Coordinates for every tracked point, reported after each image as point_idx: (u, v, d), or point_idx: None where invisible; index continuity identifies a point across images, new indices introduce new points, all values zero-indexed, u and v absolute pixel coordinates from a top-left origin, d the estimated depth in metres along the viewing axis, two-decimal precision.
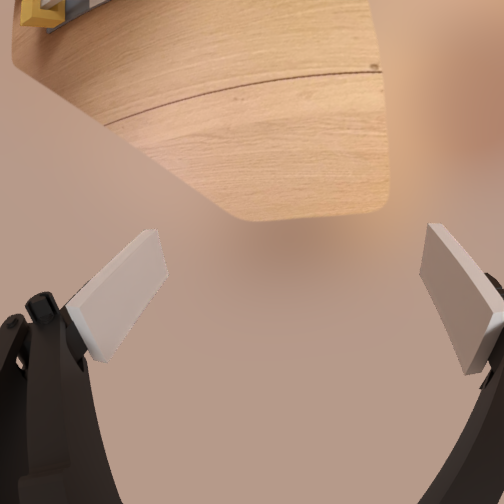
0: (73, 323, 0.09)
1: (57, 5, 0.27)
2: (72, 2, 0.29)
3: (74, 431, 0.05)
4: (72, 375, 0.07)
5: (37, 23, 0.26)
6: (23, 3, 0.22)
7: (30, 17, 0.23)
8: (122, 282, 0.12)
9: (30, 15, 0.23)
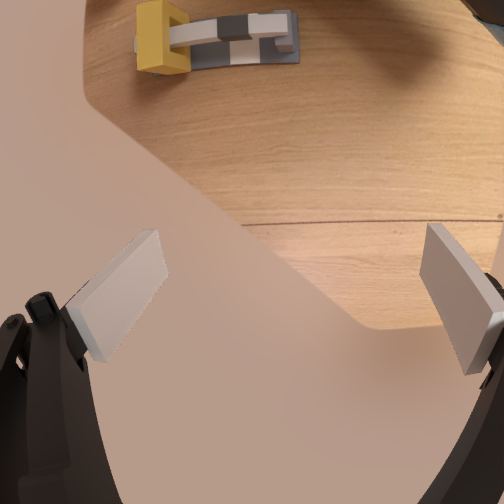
0: (73, 323, 0.09)
1: None
2: (198, 44, 0.31)
3: (74, 432, 0.05)
4: (72, 375, 0.07)
5: (159, 70, 0.27)
6: (141, 33, 0.23)
7: (160, 64, 0.24)
8: (122, 282, 0.12)
9: (159, 60, 0.24)
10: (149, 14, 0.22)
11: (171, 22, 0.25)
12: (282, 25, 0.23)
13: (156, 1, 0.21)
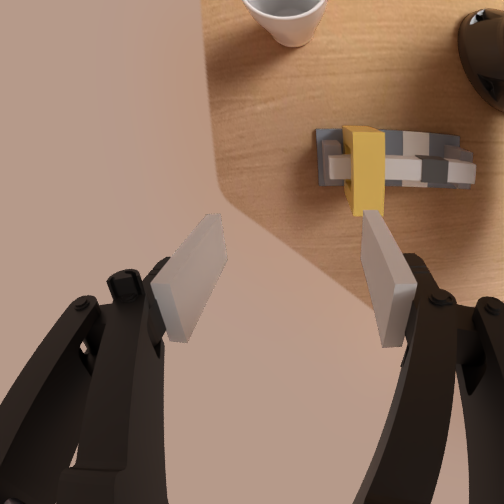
0: (156, 302, 0.10)
1: None
2: None
3: (138, 428, 0.06)
4: (147, 363, 0.08)
5: None
6: (359, 172, 0.25)
7: None
8: (199, 262, 0.12)
9: (379, 210, 0.27)
10: (370, 150, 0.24)
11: None
12: (472, 176, 0.25)
13: (378, 135, 0.23)
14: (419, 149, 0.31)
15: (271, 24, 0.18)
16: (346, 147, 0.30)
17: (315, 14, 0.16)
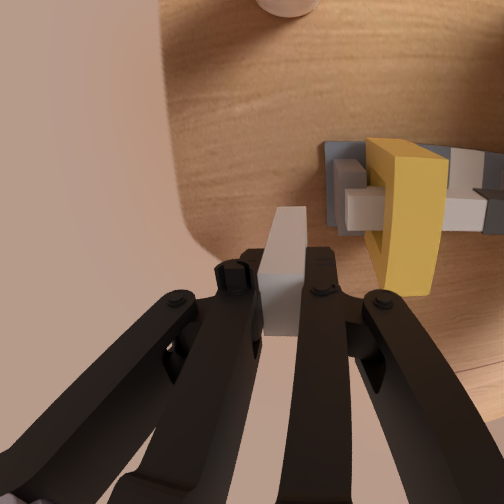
0: (260, 294, 0.10)
1: None
2: None
3: (219, 440, 0.05)
4: (244, 366, 0.08)
5: None
6: (401, 229, 0.14)
7: (423, 293, 0.16)
8: None
9: (424, 287, 0.15)
10: (422, 191, 0.13)
11: None
12: None
13: (437, 164, 0.12)
14: (470, 175, 0.20)
15: None
16: (372, 173, 0.19)
17: None
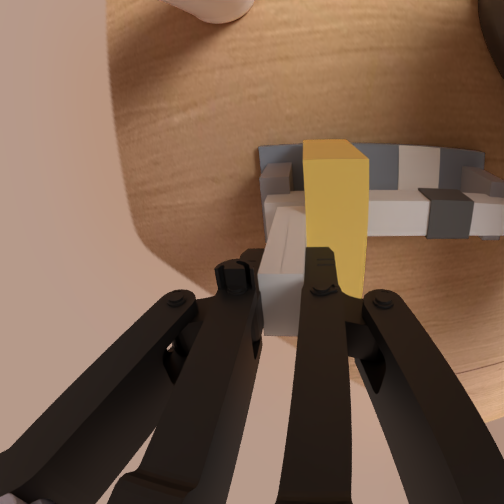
0: (260, 294, 0.10)
1: None
2: None
3: (220, 440, 0.05)
4: (244, 366, 0.07)
5: None
6: (318, 236, 0.14)
7: None
8: None
9: None
10: (338, 195, 0.13)
11: None
12: None
13: (355, 164, 0.12)
14: (424, 173, 0.20)
15: None
16: None
17: None
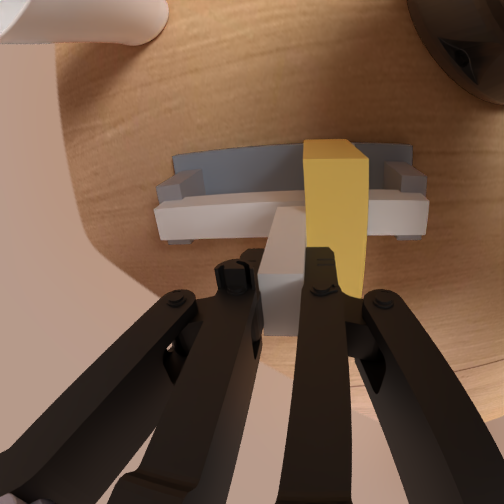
0: (260, 294, 0.10)
1: None
2: (258, 192, 0.23)
3: (219, 440, 0.05)
4: (244, 366, 0.07)
5: None
6: (318, 235, 0.14)
7: None
8: None
9: (354, 296, 0.16)
10: (338, 195, 0.13)
11: None
12: (420, 223, 0.16)
13: (354, 164, 0.13)
14: None
15: None
16: None
17: (42, 5, 0.07)
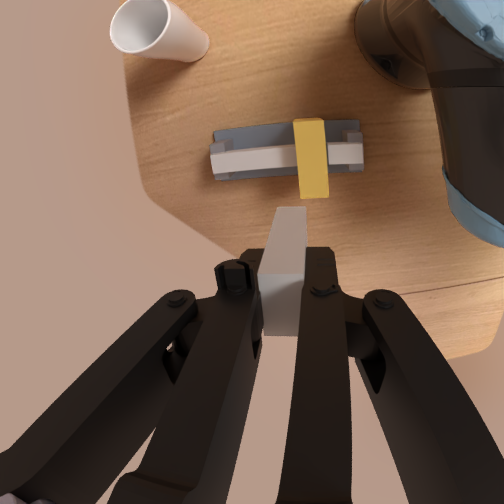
0: (260, 294, 0.10)
1: None
2: None
3: (220, 440, 0.05)
4: (244, 366, 0.07)
5: None
6: (302, 158, 0.29)
7: (325, 196, 0.30)
8: None
9: (325, 192, 0.30)
10: (310, 137, 0.28)
11: None
12: (358, 156, 0.30)
13: (317, 123, 0.27)
14: None
15: None
16: None
17: (164, 40, 0.21)
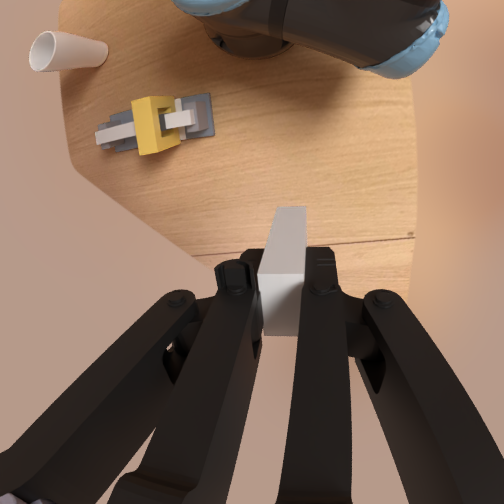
0: (260, 294, 0.10)
1: None
2: None
3: (219, 440, 0.05)
4: (244, 366, 0.07)
5: None
6: (138, 125, 0.37)
7: (155, 151, 0.38)
8: None
9: (155, 148, 0.38)
10: (142, 110, 0.35)
11: (160, 108, 0.39)
12: (187, 119, 0.38)
13: (145, 99, 0.35)
14: None
15: (44, 71, 0.31)
16: None
17: (55, 61, 0.29)
